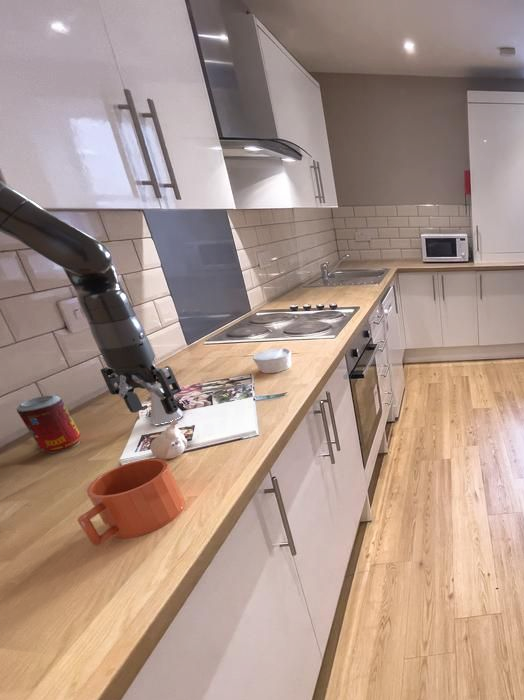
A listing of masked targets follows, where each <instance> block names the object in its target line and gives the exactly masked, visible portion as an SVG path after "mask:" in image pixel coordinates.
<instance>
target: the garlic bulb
mask: <svg viewBox="0 0 524 700" xmlns="http://www.w3.org/2000/svg"><path fill="white" fill-rule="evenodd" d="M178 424H179V422H178V420H175V419H173V421H172V423H170V425H169V426H168V427H167V428H166V429H165V430H163V431H161V432H160V434H159V435H157V436H156V437H155V438H154V439H152V441H151V443H150V445H149V448H150V451H151V454H152V455H153V457H155V459H162V460H164V461H166V460H171V459H175V458H177V457H179V456H181V455H182V454H184V452H185V451H186V449H187V447H188V440H187V438H186V437H185V434H183V433H182V430H181V429H180V428H179V427H178V426H177V425H178Z"/></svg>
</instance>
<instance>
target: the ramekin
mask: <svg viewBox="0 0 524 700" xmlns="http://www.w3.org/2000/svg"><path fill="white" fill-rule="evenodd" d="M252 359H253V362H255V364H256V365H255V366H257V369H258V370H259V371H260V372H262V373H264V374H275V373H280V372H281V373H282V372H284V371H287V370H288V369H289V368H290V367H291V365H292V352H291V349H288V348H281V347H280V348H277V347H276V348H269V349H265V350H262V351H259V352H257V353H255V354H254V355H253V356H252Z"/></svg>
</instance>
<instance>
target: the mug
mask: <svg viewBox="0 0 524 700" xmlns="http://www.w3.org/2000/svg"><path fill="white" fill-rule="evenodd" d="M86 494H87V496H88V498H89V501H91V503H92V505H93V507H92V508H91V509H89V510H87V511H86V512H85V513H83V514H81V515H80V516H79V517H78V518H77V523H78V524H79V526H80V528H81V529H82V531H83V532H84V534H85V536H86V537H87V539H88V541H90V543H91V545H92V546H93V547H98V546H100V545H101V544H102V543H104V542H106V541H107V540H108V539H110V538H111V537H112V536H113V537H114V538H118V539H131V538H136V537H140V536H144V535H147V534H150V533H152V532H155V531H157V530H159V529H162V528H163V527H165V526H166V525H168V524H169V523H171V522H172V521H174V520H175V519H176V518H177V517H178V516H179V515H180V514H181V513H182V512H183V510H184V509H185V507H186V502H185V499H184V497H183V494H182V492H181V491H180V488H179V486H178V484H177V481H176V479H175V477H174V476H173V472H172V471H171V468H170V466H169V464H168V462H167V461H166V460H163V459H159V458H145V459H144V458H143V459H139V460H135V461H131V462H128V463H125V464H121V465H119V466H117V467H114V468H113V469H110V470H108V471H106V472H104V473H102V474H101V475H99V476H98V477H96V478H95V479H94V480H93V481H92V482H91V483H90V484H89V485H88V487H87V489H86ZM97 515H99V517H100V519H101V520H102V522H103V524H104V525H105V527H106V530H105V531H104V532H102V533H101V534H99V532H98V531H97V529H96V528H95V526H94V524H93V523H92V521H91V519H93V518H94V517H95V516H97Z"/></svg>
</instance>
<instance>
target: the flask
mask: <svg viewBox="0 0 524 700" xmlns="http://www.w3.org/2000/svg"><path fill="white" fill-rule="evenodd" d="M157 384H159V383H158V382H156V383H155V384H154V385H152V386H155V385H157ZM159 390H161V391H162V392H163V393H164V390H163V389H162V388H160V389H159ZM148 393H149V398H150V418H149V419H150V422H151V423H154V424H161V423H165V422H170V421H172V420H173V419H177V418H179V417H182V414H183V413H184V411H182V409H180V408H179V407H178V410H177V411H176V412H175V413H173V414H166V412H165V410H164V407H163V405H162V403H161V401H160V399H161V398H159V397H158V396H157V395H156V394H155V393H151V392H149V391H148Z"/></svg>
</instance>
